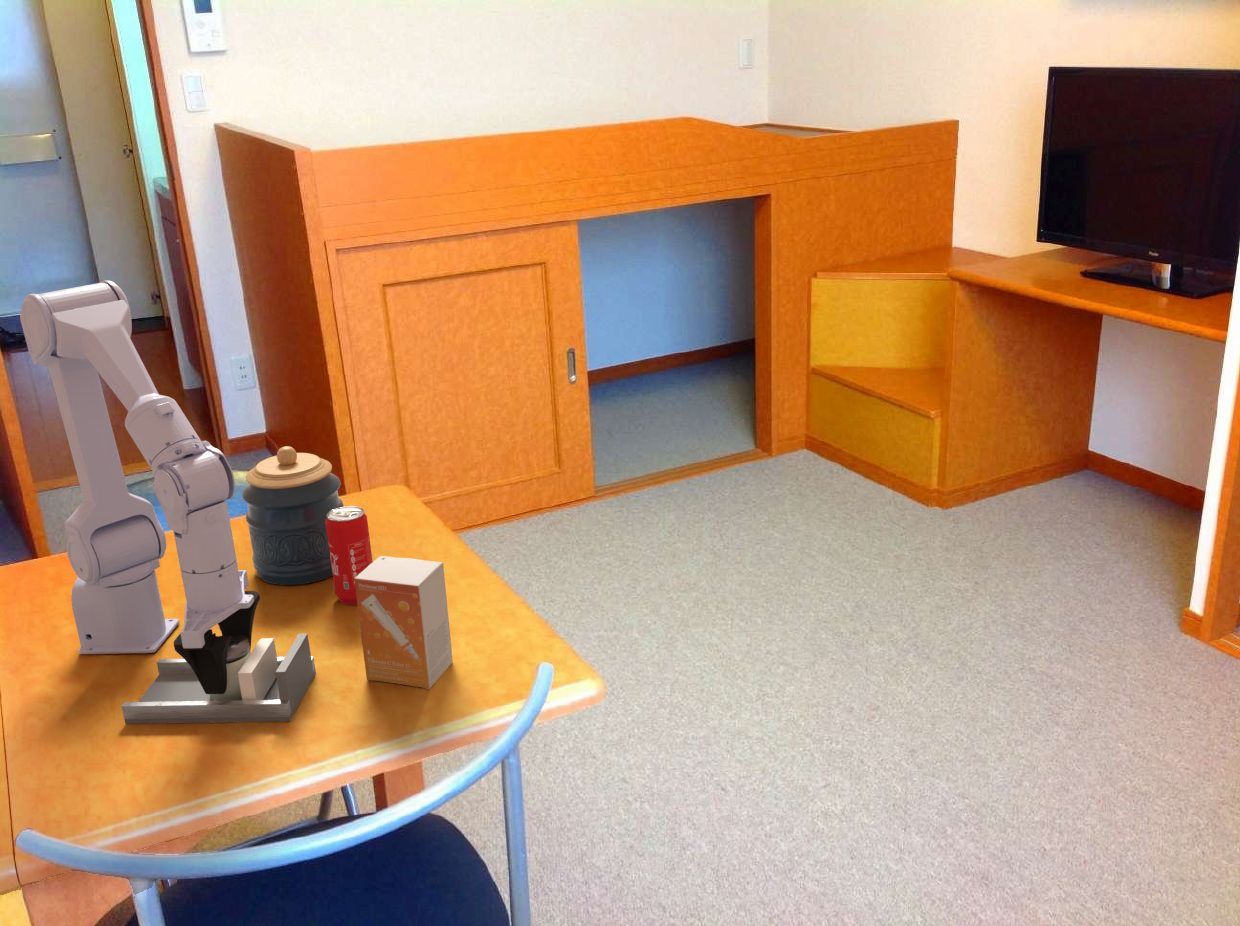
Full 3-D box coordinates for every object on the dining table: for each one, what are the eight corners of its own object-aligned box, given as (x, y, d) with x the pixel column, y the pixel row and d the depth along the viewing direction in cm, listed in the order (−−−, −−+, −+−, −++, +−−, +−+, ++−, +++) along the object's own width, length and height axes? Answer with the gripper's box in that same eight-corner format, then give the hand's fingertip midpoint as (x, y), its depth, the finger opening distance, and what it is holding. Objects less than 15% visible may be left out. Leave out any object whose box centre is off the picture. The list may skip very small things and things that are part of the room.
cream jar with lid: (204, 706, 127) (195, 658, 125) (217, 682, 132) (208, 635, 130) (250, 703, 127) (242, 655, 125) (261, 679, 132) (253, 632, 130)
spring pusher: (243, 708, 126) (237, 673, 124) (266, 672, 133) (260, 638, 131) (257, 708, 126) (251, 672, 124) (279, 672, 133) (273, 638, 131)
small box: (365, 681, 132) (351, 577, 127) (392, 654, 137) (380, 553, 133) (430, 690, 129) (418, 585, 125) (454, 662, 135) (444, 560, 131)
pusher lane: (125, 723, 125) (115, 678, 123) (162, 675, 135) (154, 632, 133) (289, 721, 125) (282, 675, 123) (315, 673, 134) (309, 629, 132)
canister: (234, 575, 160) (213, 454, 154) (304, 540, 170) (287, 426, 164) (301, 595, 153) (283, 470, 147) (370, 557, 163) (355, 439, 157)
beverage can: (367, 608, 149) (356, 522, 145) (329, 605, 150) (317, 520, 146) (382, 590, 154) (372, 506, 149) (346, 587, 155) (335, 504, 150)
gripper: (221, 592, 117) (241, 709, 122) (267, 533, 130) (284, 640, 135) (152, 593, 117) (175, 710, 122) (205, 535, 131) (224, 642, 135)
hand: (228, 673), depth 129 cm, fingers open, 7 cm apart
